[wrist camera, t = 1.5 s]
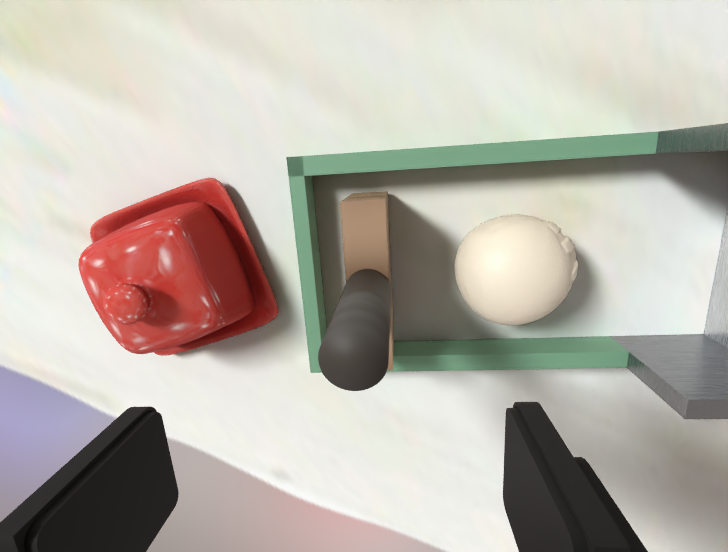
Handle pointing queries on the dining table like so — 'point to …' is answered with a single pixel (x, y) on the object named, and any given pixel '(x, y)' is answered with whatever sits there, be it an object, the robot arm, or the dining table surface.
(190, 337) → the butter dish
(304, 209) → the frame
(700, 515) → the dining table surface
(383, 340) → the striker
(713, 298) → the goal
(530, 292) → the cream round ball
